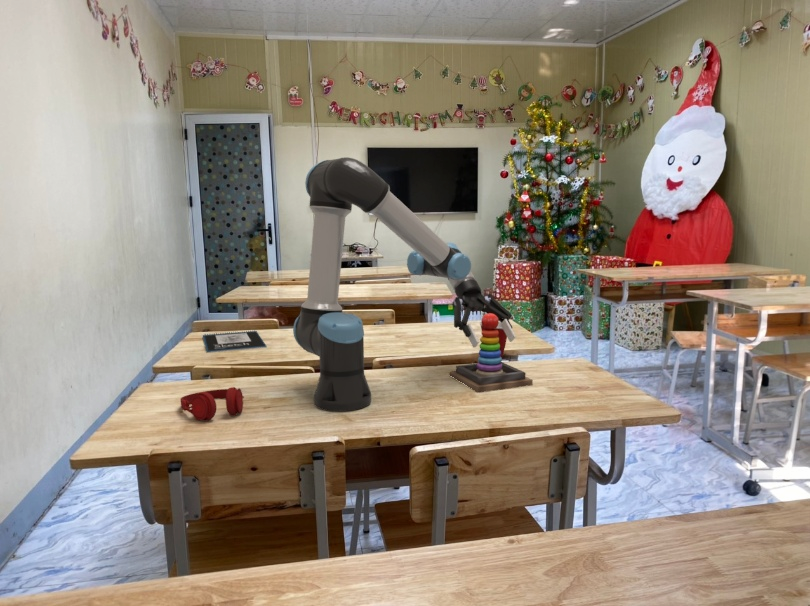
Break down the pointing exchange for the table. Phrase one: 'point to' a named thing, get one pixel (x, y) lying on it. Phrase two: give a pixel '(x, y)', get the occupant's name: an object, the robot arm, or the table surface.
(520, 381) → the board
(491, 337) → the stacking toy
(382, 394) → the table surface
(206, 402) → the headphones
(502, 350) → the plastic cup
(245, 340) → the sketchbook
